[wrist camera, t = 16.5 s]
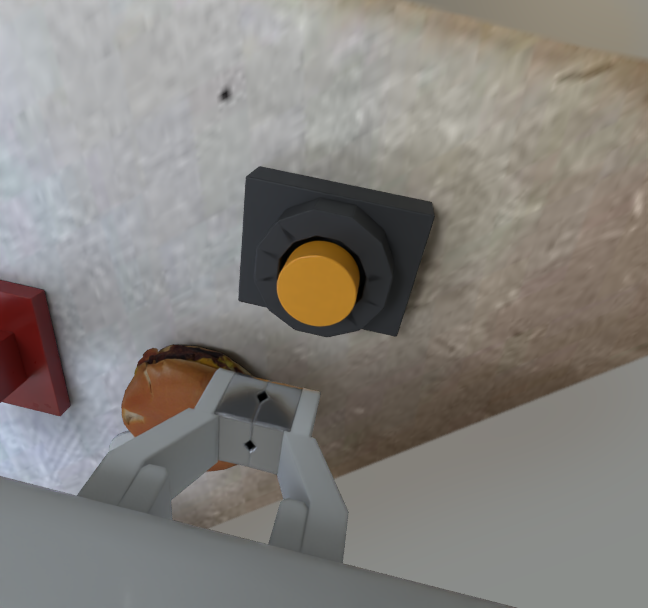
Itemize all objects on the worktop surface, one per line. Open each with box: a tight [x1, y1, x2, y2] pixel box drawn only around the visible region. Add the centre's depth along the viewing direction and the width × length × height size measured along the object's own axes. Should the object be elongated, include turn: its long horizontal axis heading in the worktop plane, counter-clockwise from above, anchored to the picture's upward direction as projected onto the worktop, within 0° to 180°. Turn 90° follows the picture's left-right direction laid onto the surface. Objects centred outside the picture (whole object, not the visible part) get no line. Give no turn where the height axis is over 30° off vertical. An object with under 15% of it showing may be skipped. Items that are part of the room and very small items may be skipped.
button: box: [277, 241, 360, 326], centre depth 19 cm, size 4×4×2 cm
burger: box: [121, 344, 252, 471], centre depth 28 cm, size 10×9×5 cm
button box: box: [238, 166, 435, 337], centre depth 21 cm, size 7×9×4 cm
